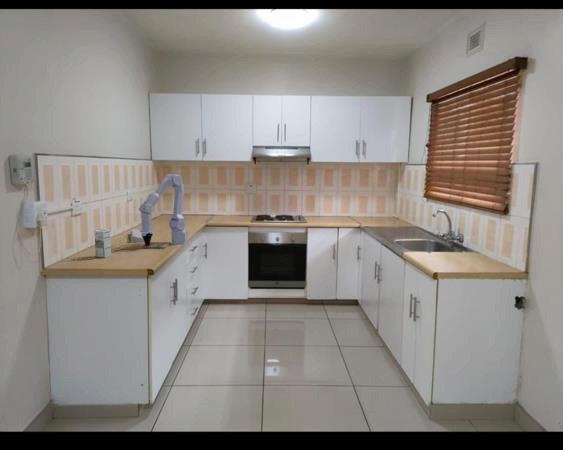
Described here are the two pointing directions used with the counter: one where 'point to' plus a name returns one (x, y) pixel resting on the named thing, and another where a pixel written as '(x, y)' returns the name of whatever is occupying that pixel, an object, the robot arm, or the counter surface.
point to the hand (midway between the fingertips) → (147, 245)
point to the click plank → (150, 245)
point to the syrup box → (102, 243)
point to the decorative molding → (136, 236)
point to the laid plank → (162, 245)
